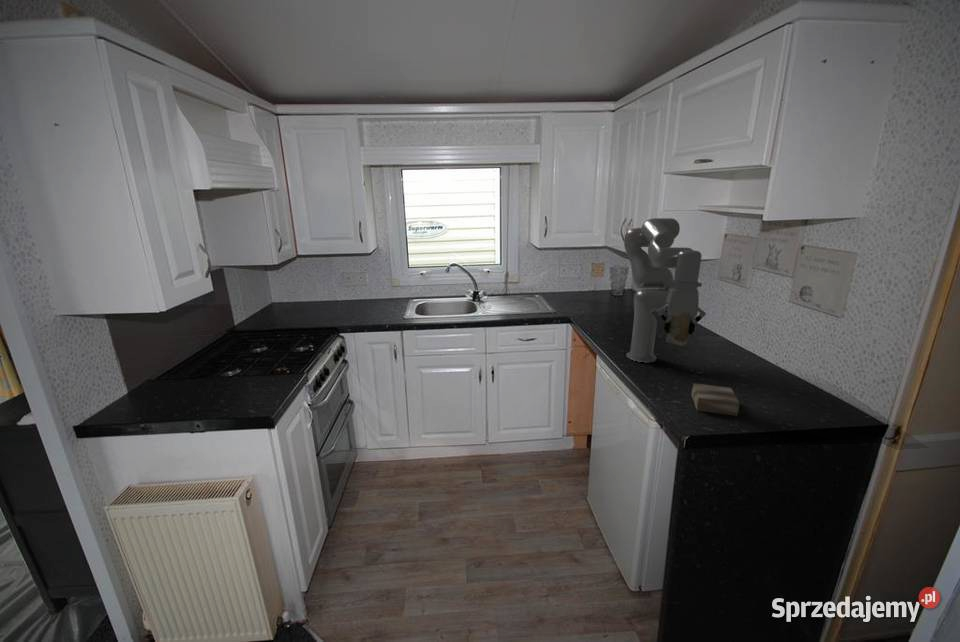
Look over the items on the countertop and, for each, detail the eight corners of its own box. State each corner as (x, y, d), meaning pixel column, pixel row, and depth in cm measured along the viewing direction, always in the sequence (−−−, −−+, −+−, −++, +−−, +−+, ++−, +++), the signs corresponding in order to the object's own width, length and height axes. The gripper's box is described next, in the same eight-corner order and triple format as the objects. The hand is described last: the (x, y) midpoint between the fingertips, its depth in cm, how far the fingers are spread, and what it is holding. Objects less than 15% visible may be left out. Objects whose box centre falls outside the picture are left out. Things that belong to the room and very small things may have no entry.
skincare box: (665, 342, 150) (669, 310, 146) (670, 339, 153) (674, 308, 149) (683, 346, 146) (688, 314, 142) (688, 343, 148) (692, 311, 145)
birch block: (691, 395, 147) (693, 383, 146) (728, 400, 144) (731, 387, 142) (696, 411, 137) (698, 397, 135) (737, 417, 133) (739, 403, 131)
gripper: (708, 284, 145) (700, 331, 150) (656, 282, 148) (651, 328, 153) (715, 288, 138) (707, 337, 143) (661, 286, 141) (655, 334, 146)
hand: (678, 332), depth 148 cm, fingers closed on skincare box, 7 cm apart
